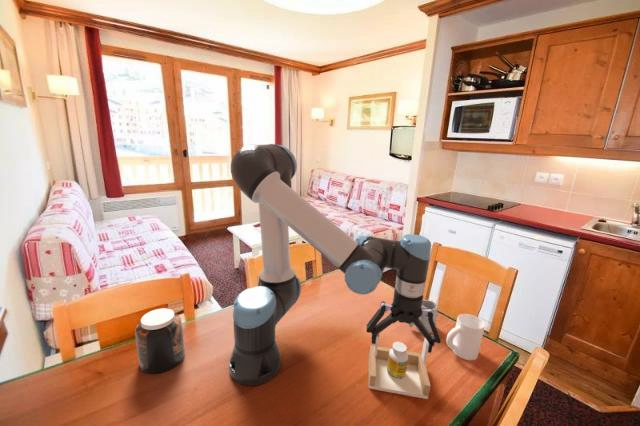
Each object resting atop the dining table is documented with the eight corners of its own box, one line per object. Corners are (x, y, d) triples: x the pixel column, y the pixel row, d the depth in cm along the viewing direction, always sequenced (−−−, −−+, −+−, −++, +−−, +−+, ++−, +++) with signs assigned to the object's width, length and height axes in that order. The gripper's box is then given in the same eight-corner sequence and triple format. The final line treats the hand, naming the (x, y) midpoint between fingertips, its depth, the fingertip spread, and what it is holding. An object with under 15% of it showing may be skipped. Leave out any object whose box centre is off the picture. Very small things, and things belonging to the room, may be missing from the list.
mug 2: (436, 345, 97) (441, 315, 94) (464, 341, 100) (471, 311, 97) (452, 364, 90) (459, 332, 87) (483, 358, 93) (490, 327, 90)
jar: (150, 382, 78) (144, 336, 74) (133, 360, 85) (126, 317, 81) (191, 357, 87) (188, 315, 83) (172, 339, 94) (168, 300, 90)
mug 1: (440, 332, 104) (445, 304, 101) (412, 337, 101) (416, 307, 98) (427, 319, 111) (432, 292, 108) (400, 323, 108) (404, 295, 105)
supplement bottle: (395, 363, 87) (399, 337, 85) (409, 376, 83) (413, 348, 81) (382, 370, 84) (386, 344, 82) (396, 384, 80) (400, 356, 78)
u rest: (368, 388, 80) (370, 375, 78) (368, 356, 91) (370, 345, 90) (428, 399, 77) (430, 386, 76) (420, 365, 89) (422, 353, 87)
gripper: (362, 292, 75) (355, 358, 80) (462, 305, 71) (447, 374, 77) (362, 278, 82) (356, 340, 88) (453, 290, 78) (440, 353, 84)
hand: (399, 356), depth 82 cm, fingers open, 13 cm apart
